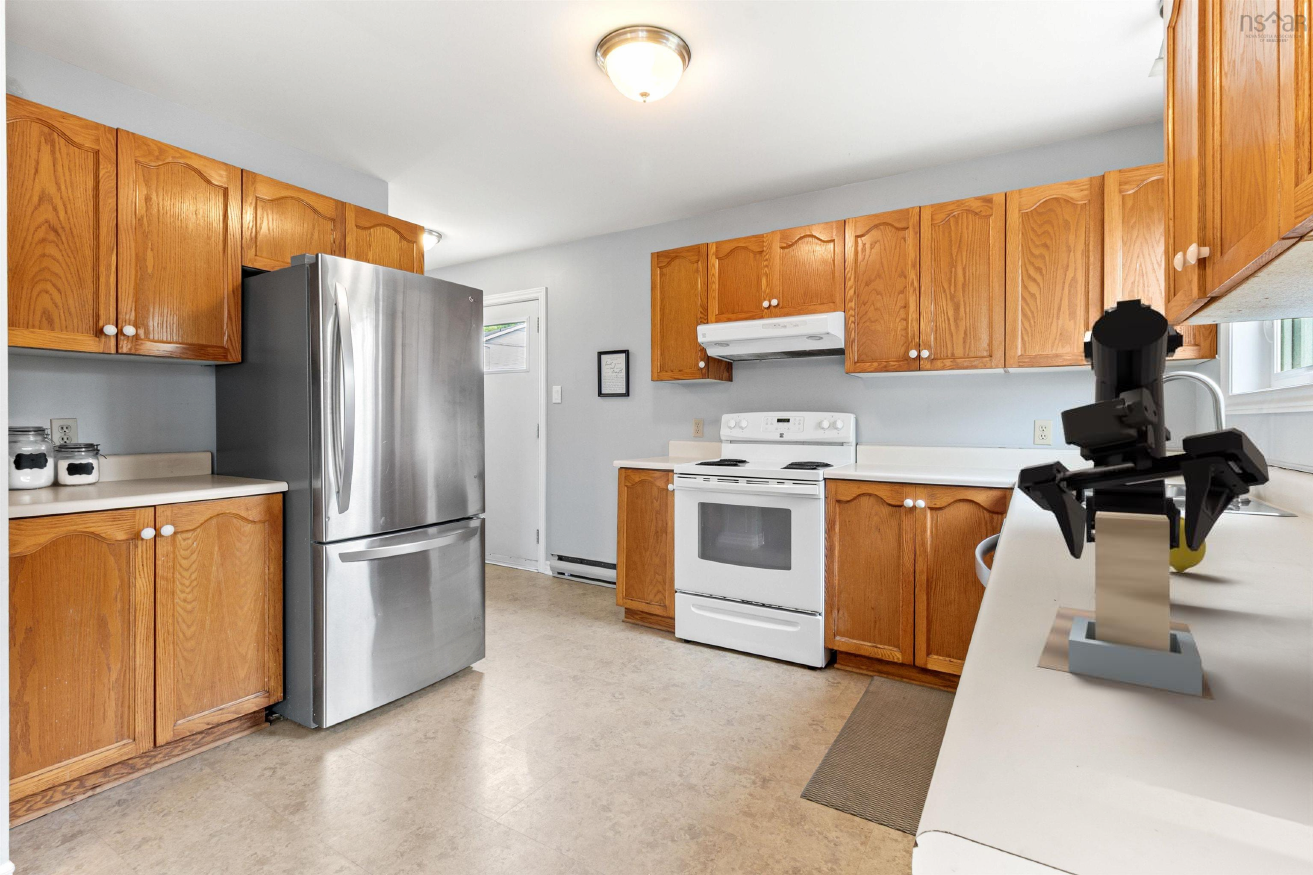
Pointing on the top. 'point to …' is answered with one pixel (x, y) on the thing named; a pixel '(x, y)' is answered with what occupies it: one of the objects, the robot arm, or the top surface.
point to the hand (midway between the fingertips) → (1129, 553)
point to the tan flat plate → (1058, 645)
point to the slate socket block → (1136, 660)
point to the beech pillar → (1132, 580)
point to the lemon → (1185, 553)
